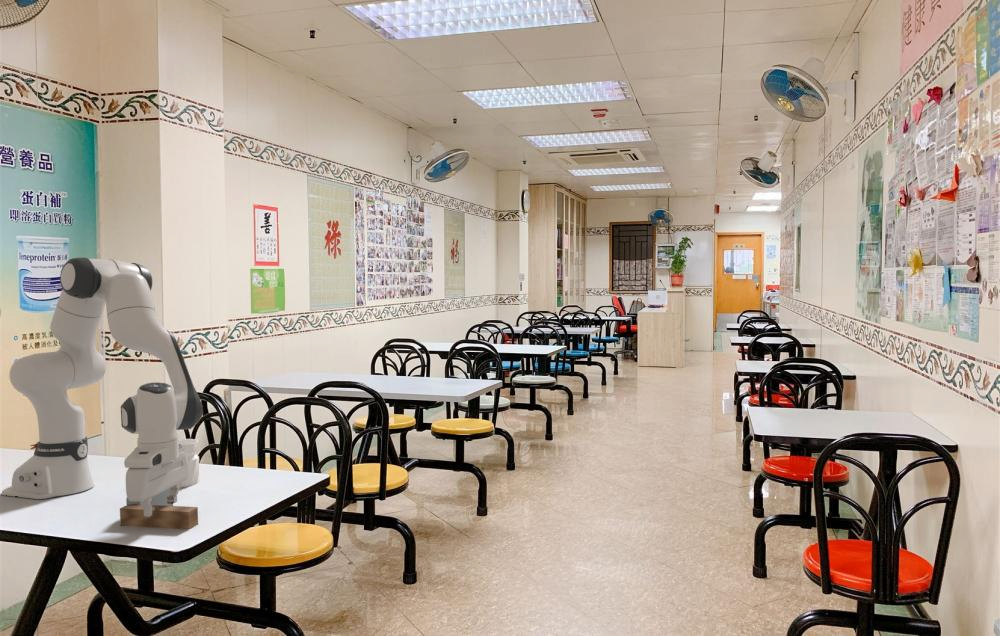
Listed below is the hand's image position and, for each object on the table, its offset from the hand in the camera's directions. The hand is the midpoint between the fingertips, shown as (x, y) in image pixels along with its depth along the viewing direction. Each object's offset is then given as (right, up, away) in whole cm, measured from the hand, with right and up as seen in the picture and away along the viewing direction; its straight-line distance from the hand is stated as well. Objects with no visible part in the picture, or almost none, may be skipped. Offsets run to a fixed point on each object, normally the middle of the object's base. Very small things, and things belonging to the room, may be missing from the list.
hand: (161, 509), depth 170 cm
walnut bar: (-1, -4, 0) cm, 4 cm away
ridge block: (-7, -3, +10) cm, 13 cm away
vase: (-10, -2, +36) cm, 37 cm away
